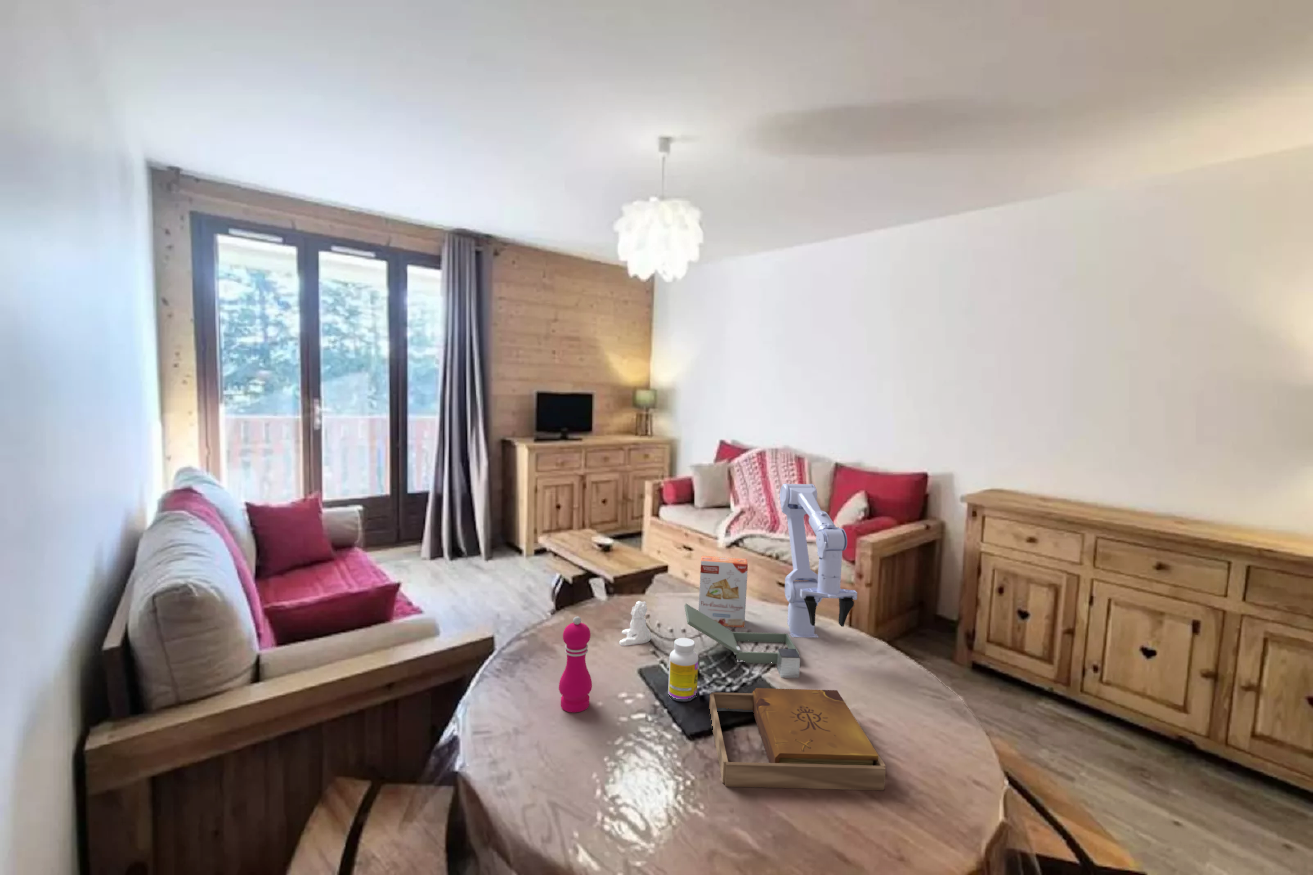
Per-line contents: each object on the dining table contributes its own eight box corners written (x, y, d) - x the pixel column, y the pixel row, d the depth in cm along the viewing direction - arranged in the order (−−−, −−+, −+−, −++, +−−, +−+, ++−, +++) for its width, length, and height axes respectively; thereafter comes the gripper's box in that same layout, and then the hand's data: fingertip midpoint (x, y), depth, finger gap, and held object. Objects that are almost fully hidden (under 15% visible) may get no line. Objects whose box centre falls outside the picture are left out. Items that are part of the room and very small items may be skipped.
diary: (751, 713, 126) (752, 687, 126) (835, 715, 127) (837, 690, 126) (773, 782, 104) (775, 751, 103) (876, 785, 104) (878, 754, 103)
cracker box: (697, 629, 170) (700, 560, 169) (698, 621, 176) (700, 554, 175) (744, 633, 169) (748, 563, 167) (744, 625, 175) (747, 557, 173)
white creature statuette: (621, 635, 165) (623, 594, 164) (651, 636, 164) (653, 595, 163) (618, 649, 155) (619, 606, 154) (650, 650, 155) (651, 607, 154)
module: (776, 669, 145) (777, 648, 145) (794, 670, 145) (795, 649, 145) (780, 678, 141) (781, 656, 140) (798, 678, 141) (800, 657, 141)
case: (683, 642, 160) (684, 603, 160) (786, 645, 161) (788, 606, 160) (685, 664, 147) (687, 621, 147) (798, 667, 148) (800, 624, 147)
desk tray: (708, 709, 126) (709, 692, 126) (839, 713, 126) (840, 695, 126) (723, 786, 101) (724, 764, 101) (886, 790, 102) (887, 768, 101)
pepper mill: (585, 716, 122) (587, 624, 121) (553, 711, 123) (555, 621, 122) (595, 699, 129) (598, 612, 128) (565, 694, 130) (567, 609, 129)
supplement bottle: (698, 704, 128) (700, 648, 127) (668, 703, 128) (670, 647, 127) (695, 689, 135) (697, 636, 134) (667, 688, 135) (669, 635, 134)
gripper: (806, 578, 146) (803, 630, 147) (862, 579, 146) (859, 631, 147) (799, 570, 153) (796, 619, 154) (852, 571, 154) (850, 621, 154)
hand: (826, 624), depth 151 cm, fingers open, 7 cm apart
